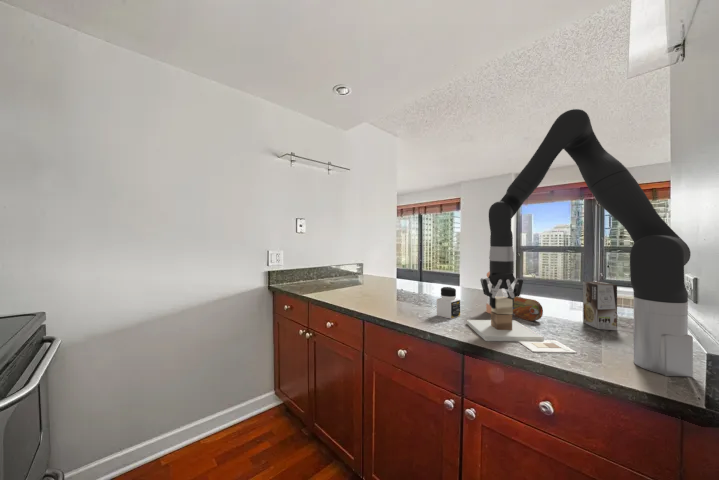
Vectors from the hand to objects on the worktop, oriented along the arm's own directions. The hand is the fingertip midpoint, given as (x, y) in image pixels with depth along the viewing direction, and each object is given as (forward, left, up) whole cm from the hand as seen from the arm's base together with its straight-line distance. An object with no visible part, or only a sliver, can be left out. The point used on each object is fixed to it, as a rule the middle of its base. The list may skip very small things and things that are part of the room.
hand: (501, 308), depth 97 cm
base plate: (0, 0, -8) cm, 8 cm away
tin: (+18, -17, -9) cm, 26 cm away
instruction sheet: (-13, -7, -8) cm, 17 cm away
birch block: (0, 0, -1) cm, 1 cm away
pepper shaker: (+26, -9, -9) cm, 29 cm away
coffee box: (+8, -39, -9) cm, 41 cm away
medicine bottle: (+20, +13, -9) cm, 25 cm away
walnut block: (0, 0, -7) cm, 7 cm away
